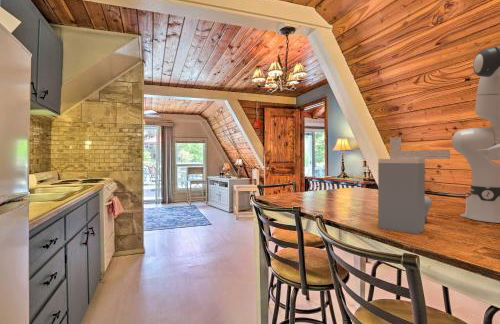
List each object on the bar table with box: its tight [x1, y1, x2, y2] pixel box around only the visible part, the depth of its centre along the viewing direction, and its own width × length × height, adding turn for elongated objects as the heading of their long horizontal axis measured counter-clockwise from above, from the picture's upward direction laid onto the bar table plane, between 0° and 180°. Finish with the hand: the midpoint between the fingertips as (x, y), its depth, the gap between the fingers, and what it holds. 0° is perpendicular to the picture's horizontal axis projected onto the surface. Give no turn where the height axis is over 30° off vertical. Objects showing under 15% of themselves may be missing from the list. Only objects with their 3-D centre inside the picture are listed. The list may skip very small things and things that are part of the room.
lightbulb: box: [425, 195, 433, 222], centre depth 112 cm, size 6×6×11 cm
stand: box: [377, 158, 426, 235], centre depth 102 cm, size 10×13×26 cm
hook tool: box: [389, 136, 451, 160], centre depth 98 cm, size 3×18×8 cm, turn 46°
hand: (486, 149), depth 88 cm, fingers open, 8 cm apart
